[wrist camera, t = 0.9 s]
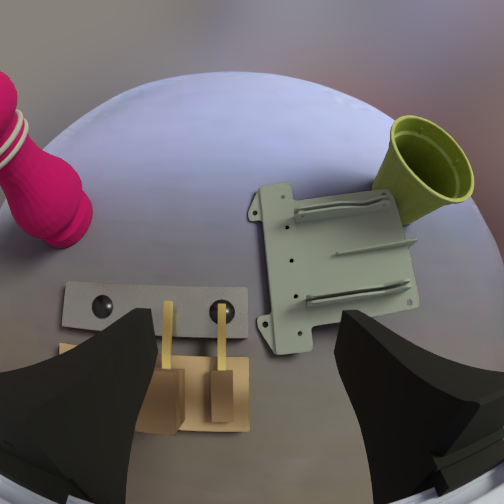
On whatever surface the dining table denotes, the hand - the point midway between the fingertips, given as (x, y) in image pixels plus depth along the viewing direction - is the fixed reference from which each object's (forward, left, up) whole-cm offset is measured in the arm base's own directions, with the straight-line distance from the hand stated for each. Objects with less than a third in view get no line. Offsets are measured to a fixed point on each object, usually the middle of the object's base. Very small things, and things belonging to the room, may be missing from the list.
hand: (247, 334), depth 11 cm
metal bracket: (+7, -9, -13) cm, 17 cm away
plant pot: (+14, -17, -13) cm, 26 cm away
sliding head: (-1, +5, -11) cm, 13 cm away
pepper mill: (+11, +17, -13) cm, 24 cm away
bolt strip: (+3, +7, -13) cm, 15 cm away
